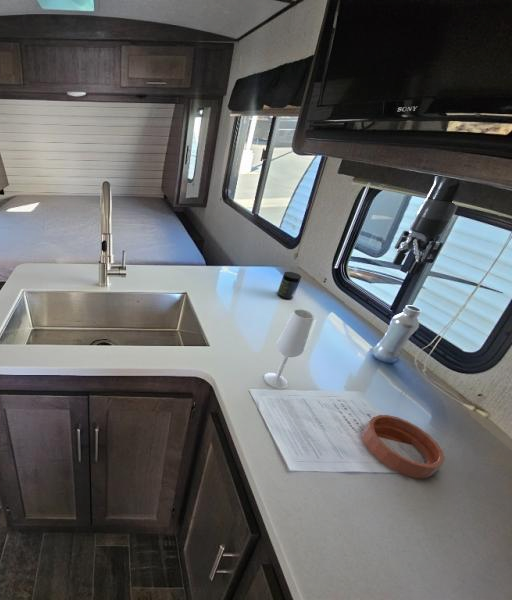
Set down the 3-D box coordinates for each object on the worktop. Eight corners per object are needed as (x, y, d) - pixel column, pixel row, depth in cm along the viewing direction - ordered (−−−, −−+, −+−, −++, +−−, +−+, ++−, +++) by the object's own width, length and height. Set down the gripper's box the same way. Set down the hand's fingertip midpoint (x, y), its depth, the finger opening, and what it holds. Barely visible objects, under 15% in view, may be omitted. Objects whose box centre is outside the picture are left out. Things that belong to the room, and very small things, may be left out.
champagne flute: (292, 389, 93) (323, 321, 81) (270, 388, 93) (297, 320, 81) (281, 372, 99) (309, 307, 87) (260, 372, 99) (284, 306, 86)
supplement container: (289, 301, 137) (298, 280, 132) (274, 295, 141) (281, 274, 136) (295, 296, 142) (303, 275, 136) (280, 291, 146) (287, 270, 140)
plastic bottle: (369, 350, 111) (398, 300, 100) (393, 357, 108) (425, 306, 97) (371, 360, 106) (401, 309, 96) (396, 368, 103) (430, 316, 93)
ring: (412, 437, 80) (424, 423, 78) (443, 490, 69) (458, 475, 66) (352, 423, 84) (361, 408, 81) (371, 471, 72) (383, 456, 70)
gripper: (467, 223, 84) (433, 279, 92) (430, 213, 97) (403, 263, 104) (435, 220, 86) (404, 275, 93) (403, 210, 98) (378, 259, 105)
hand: (404, 269), depth 99 cm, fingers open, 8 cm apart
